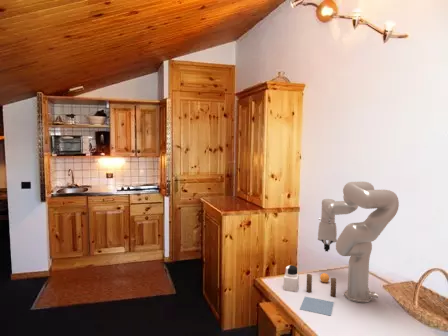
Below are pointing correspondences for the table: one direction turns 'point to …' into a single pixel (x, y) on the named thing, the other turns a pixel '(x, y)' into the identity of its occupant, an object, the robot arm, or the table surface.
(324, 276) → the ball
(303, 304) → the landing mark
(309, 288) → the post
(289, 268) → the medicine bottle
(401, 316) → the table surface
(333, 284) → the post
